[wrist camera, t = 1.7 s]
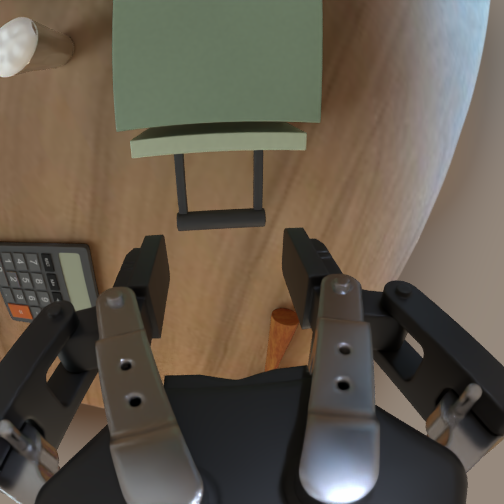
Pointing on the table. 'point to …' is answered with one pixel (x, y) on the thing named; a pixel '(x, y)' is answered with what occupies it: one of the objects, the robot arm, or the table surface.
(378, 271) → the table surface
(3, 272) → the calculator
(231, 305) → the table surface
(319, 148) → the table surface
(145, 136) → the drawer
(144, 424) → the robot arm
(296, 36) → the cabinet
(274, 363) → the kendama
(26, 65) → the milkshake
